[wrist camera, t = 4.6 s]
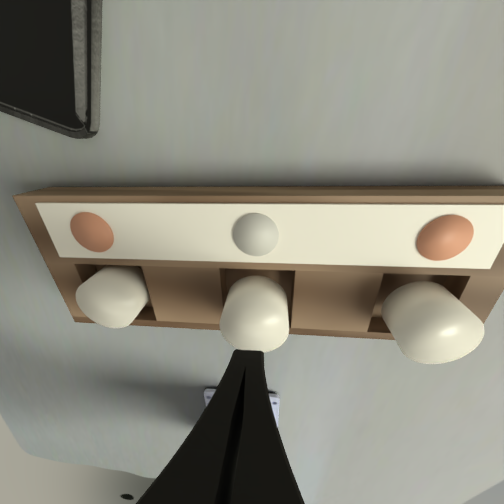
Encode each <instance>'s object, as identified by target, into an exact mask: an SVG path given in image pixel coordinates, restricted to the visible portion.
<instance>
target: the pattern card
mask: <svg viewBox="0 0 504 504" xmlns="http://www.w3.org/2000/svg"><path fill="white" fill-rule="evenodd" d="M35 204H36V206H37V209H38V211H39V213H40V215H41V217H42V219H43V222H44V224H45V226H46V228H47V230H48V232H49V235H50V237H51V239H52V241H53V243H54V246H55V248H56V250H57V252H58V254H59V256H60V257H72V258H108V259H144V260H180V261H216V262H252V263H289V264H325V265H361V266H397V267H433V268H470V269H490V268H491V266H492V264H493V262H494V260H495V258H496V257H497V255H498V253H499V251H500V249H501V247H502V245H503V243H504V204H333V203H59V202H38V203H35Z"/></svg>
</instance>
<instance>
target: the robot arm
mask: <svg viewBox="0 0 504 504" xmlns="http://www.w3.org/2000/svg"><path fill="white" fill-rule="evenodd" d="M204 398H205V403H206V408H205V410H204V412H203V413H202V415H201V417H200V418H199V420H198V421H197V423H196V424H195V426H194V428H193V429H192V431H191V432H190V434H189V435H188V436H187V438H186V439H185V441H184V442H183V444H182V445H181V446H180V448H179V449H178V451H177V452H176V453H175V455H174V456H173V458H172V459H171V460H170V462H169V463H168V464H167V466H166V467H165V468H164V469H163V471H162V472H161V473H160V475H159V476H158V477H157V478H156V480H155V481H154V482H153V483H152V484H151V486H150V487H149V488H148V489H147V491H146V492H145V493H144V494H143V496H142V497H141V498H140V499H139V500H138V502H137V503H136V504H305V503H304V501H303V498H302V496H301V493H300V490H299V488H298V485H297V483H296V480H295V477H294V475H293V472H292V469H291V467H290V464H289V461H288V458H287V455H286V452H285V449H284V446H283V443H282V440H281V437H280V434H279V431H278V417H279V396H278V395H277V394H270V393H268V388H267V383H266V377H265V371H264V352H262V351H257V350H237V349H236V350H235V351H234V352H233V355H232V357H231V360H230V362H229V365H228V367H227V369H226V371H225V373H224V375H223V377H222V379H221V381H220V383H219V385H218V387H217V389H205V391H204Z"/></svg>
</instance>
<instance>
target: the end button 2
mask: <svg viewBox="0 0 504 504" xmlns="http://www.w3.org/2000/svg"><path fill="white" fill-rule="evenodd" d="M381 315H382V318H383V320H384V321H385V323H386V325H387V327H388V328H389V330H390V332H391V334H392V335H393V337H394V339H395V340H396V342H397V344H398V346H399V347H400V349H401V351H402V352H403V354H404V355H405V356H406V357H408V358H409V359H411V360H413V361H416V362H419V363H424V364H440V363H446V362H450V361H454V360H456V359H459V358H461V357H463V356H465V355H467V354H468V353H470V352H471V351H473V350H474V349H475V348H476V347H477V346H478V345H479V343H480V342H481V340H482V338H483V336H484V325H483V323H482V321H481V320H480V319H479V318H478V317H477V316H476V315H475V314H474V313H472V312H471V311H470V310H469V309H468V308H467V307H466V306H465V305H464V304H463V303H461V302H460V301H459V300H458V299H457V298H456V297H455V296H454V295H453V294H451V293H450V292H449V291H448V290H447V289H446V288H445V287H443V286H442V285H440V284H438V283H435V282H430V281H418V282H412V283H409V284H406V285H403V286H401V287H399V288H397V289H396V290H394V291H393V292H392V293H390V294H389V295H388V297H387V298H386V299H385V301H384V302H383V305H382V308H381Z"/></svg>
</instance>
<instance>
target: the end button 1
mask: <svg viewBox="0 0 504 504" xmlns="http://www.w3.org/2000/svg"><path fill="white" fill-rule="evenodd" d="M149 299H150V295H149V291H148V287H147V284H146V280H145V277H144V273H143V271H142V270H141V269H140V268H138V267H137V266H130V265H106V266H105V267H103V268H102V269H101V270H100V271H98V272H97V273H96V274H94V275H93V276H92V277H90V278H89V279H88V280H87V281H85V282H84V283H83V284H81V285H80V286H79V287H78V289H77V291H76V301H77V304H78V306H79V308H80V309H81V311H82V312H83V313H84V314H85V315H86V316H87V317H88V318H90V319H91V320H92V321H94V322H96V323H98V324H100V325H102V326H105V327H110V328H123V327H126V326H128V325H129V324H131V323H132V321H133V320H134V319H135V318H136V316H137V315H138V314H139V312H140V311H141V310H142V308H143V307H144V306H145V305H146V303H147V302H148V301H149Z"/></svg>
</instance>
